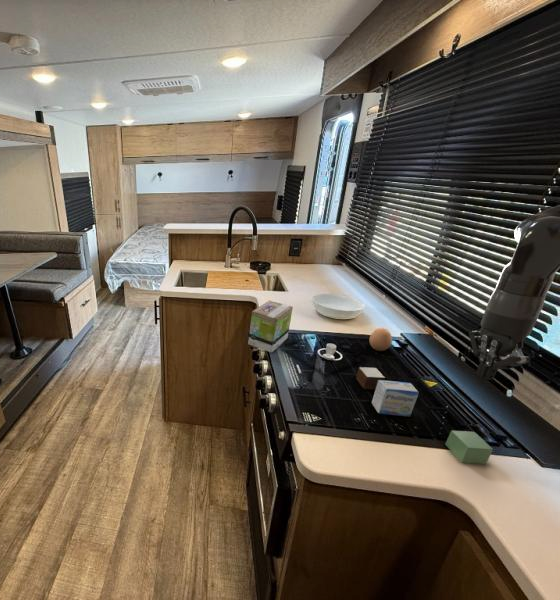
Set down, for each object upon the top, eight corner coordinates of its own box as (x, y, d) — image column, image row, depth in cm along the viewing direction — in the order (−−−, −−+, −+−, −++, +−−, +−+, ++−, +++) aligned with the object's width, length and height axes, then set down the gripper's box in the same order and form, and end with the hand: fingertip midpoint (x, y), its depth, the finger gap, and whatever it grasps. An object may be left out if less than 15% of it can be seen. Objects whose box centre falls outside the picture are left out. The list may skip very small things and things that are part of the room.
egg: (391, 350, 113) (397, 328, 110) (384, 357, 110) (391, 334, 106) (371, 343, 118) (377, 322, 115) (364, 349, 115) (369, 327, 111)
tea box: (272, 354, 113) (277, 318, 107) (247, 345, 119) (250, 310, 114) (288, 339, 123) (293, 305, 117) (264, 331, 129) (268, 299, 124)
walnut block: (372, 381, 97) (375, 367, 96) (380, 391, 93) (385, 377, 91) (355, 380, 98) (358, 367, 96) (363, 390, 93) (367, 376, 91)
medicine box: (377, 414, 84) (385, 389, 81) (370, 403, 88) (378, 378, 85) (410, 418, 82) (419, 392, 79) (401, 406, 86) (410, 381, 83)
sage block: (466, 447, 73) (474, 431, 72) (484, 465, 69) (493, 449, 67) (444, 446, 74) (451, 430, 72) (460, 464, 69) (468, 447, 67)
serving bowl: (361, 328, 130) (365, 314, 127) (307, 318, 140) (310, 305, 137) (360, 310, 146) (364, 297, 143) (312, 303, 156) (314, 290, 153)
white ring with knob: (330, 364, 106) (332, 354, 105) (311, 353, 113) (313, 343, 111) (347, 357, 110) (349, 348, 108) (327, 347, 116) (329, 338, 115)
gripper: (566, 324, 59) (529, 397, 65) (503, 299, 71) (478, 362, 77) (521, 323, 60) (489, 395, 66) (467, 299, 72) (445, 361, 78)
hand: (483, 377), depth 72 cm, fingers closed
